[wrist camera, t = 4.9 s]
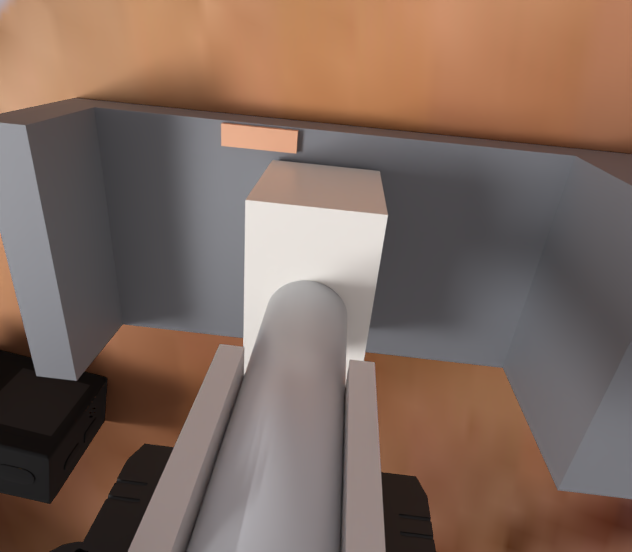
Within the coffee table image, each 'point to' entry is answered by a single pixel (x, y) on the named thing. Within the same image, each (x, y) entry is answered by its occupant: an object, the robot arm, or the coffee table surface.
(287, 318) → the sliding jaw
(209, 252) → the bench clamp
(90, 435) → the digital camera
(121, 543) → the robot arm
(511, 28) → the coffee table surface
